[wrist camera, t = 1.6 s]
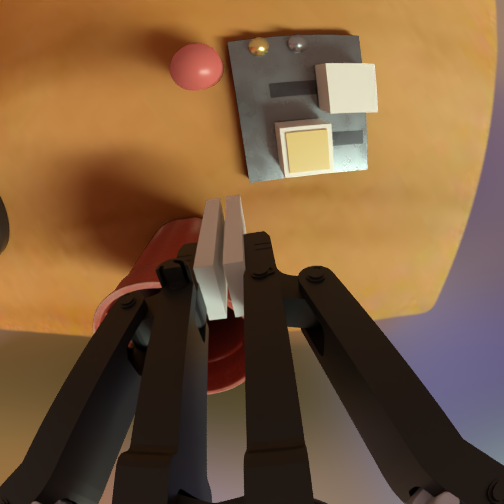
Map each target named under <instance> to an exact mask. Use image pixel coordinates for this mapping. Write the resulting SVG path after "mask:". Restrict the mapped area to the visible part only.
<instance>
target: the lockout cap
mask: <svg viewBox="0 0 504 504" xmlns="http://www.w3.org/2000/svg"><path fill="white" fill-rule="evenodd" d="M223 72H224V65H223V62H222V60H221V58H220V57H219V55H218V54H217V52H216V51H215V50H214V49H213V48H211V47H210V46H208V45H205V44H201V43H193V44H189V45H186V46H184V47H182V48H181V49H179V50H178V51H177V52H176V53H175V55H174V56H173V58H172V60H171V63H170V73H171V76H172V79H173V80H174V82H175V83H176V84H177V85H179V86H180V87H182V88H184V89H187V90H201V89H205V88H209V87H212V86H214V85H215V84H217V83H218V82H219V81H220V79H221V78H222V76H223Z"/></svg>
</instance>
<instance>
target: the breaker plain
mask: <svg viewBox="0 0 504 504" xmlns="http://www.w3.org/2000/svg"><path fill="white" fill-rule="evenodd" d="M315 71H316V80H317V89H318V98H319V109H320V110H322V111H325V112H327V113H330V114H335V113H361V112H378V104H377V88H376V75H375V65H374V64H364V63H324V64H317V65H315Z"/></svg>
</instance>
